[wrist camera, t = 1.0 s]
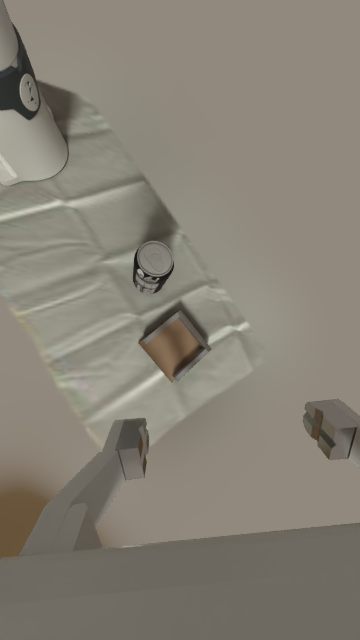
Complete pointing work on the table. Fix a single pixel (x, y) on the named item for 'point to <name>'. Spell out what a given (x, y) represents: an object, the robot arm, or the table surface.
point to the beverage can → (152, 266)
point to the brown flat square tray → (175, 346)
